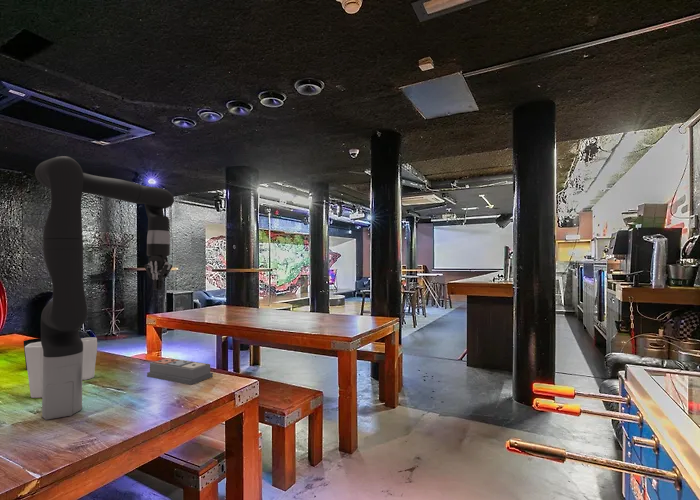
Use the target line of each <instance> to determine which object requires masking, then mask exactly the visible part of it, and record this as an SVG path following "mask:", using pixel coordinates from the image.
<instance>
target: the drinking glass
mask: <svg viewBox="0 0 700 500" xmlns="http://www.w3.org/2000/svg"><path fill="white" fill-rule="evenodd" d="M80 339H81V340H82V342H83V376H82V381H86V380H91V379H93V378H94V377H95V376H96V375H95V374H96V373H95V370H96V360H97V354H98V353H97V351H98V337H96V336H95V337H94V336H93V337H92V336H91V337H84V338H83V337H81V338H80Z"/></svg>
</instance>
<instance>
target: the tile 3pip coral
mask: <svg viewBox="0 0 700 500" xmlns="http://www.w3.org/2000/svg"><path fill="white" fill-rule="evenodd" d="M169 358H170V357H167V359H166V358H163V359H164V360H163V359H160V361H159V360H156V362H155V361H153V362H154V363H157V364H163V365H165V364H168V363H172V362H175V361H178V360H176V359H177V358H172V359H169Z"/></svg>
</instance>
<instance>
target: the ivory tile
mask: <svg viewBox="0 0 700 500" xmlns="http://www.w3.org/2000/svg"><path fill="white" fill-rule="evenodd" d="M193 362H194V363H191V364H188V365H184V366H181V368H187V369H196V368H199V367H202V366H205V365H206V364H207V363H206V364H203V363H204V362H199V363H196V362H197V361H193Z"/></svg>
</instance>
